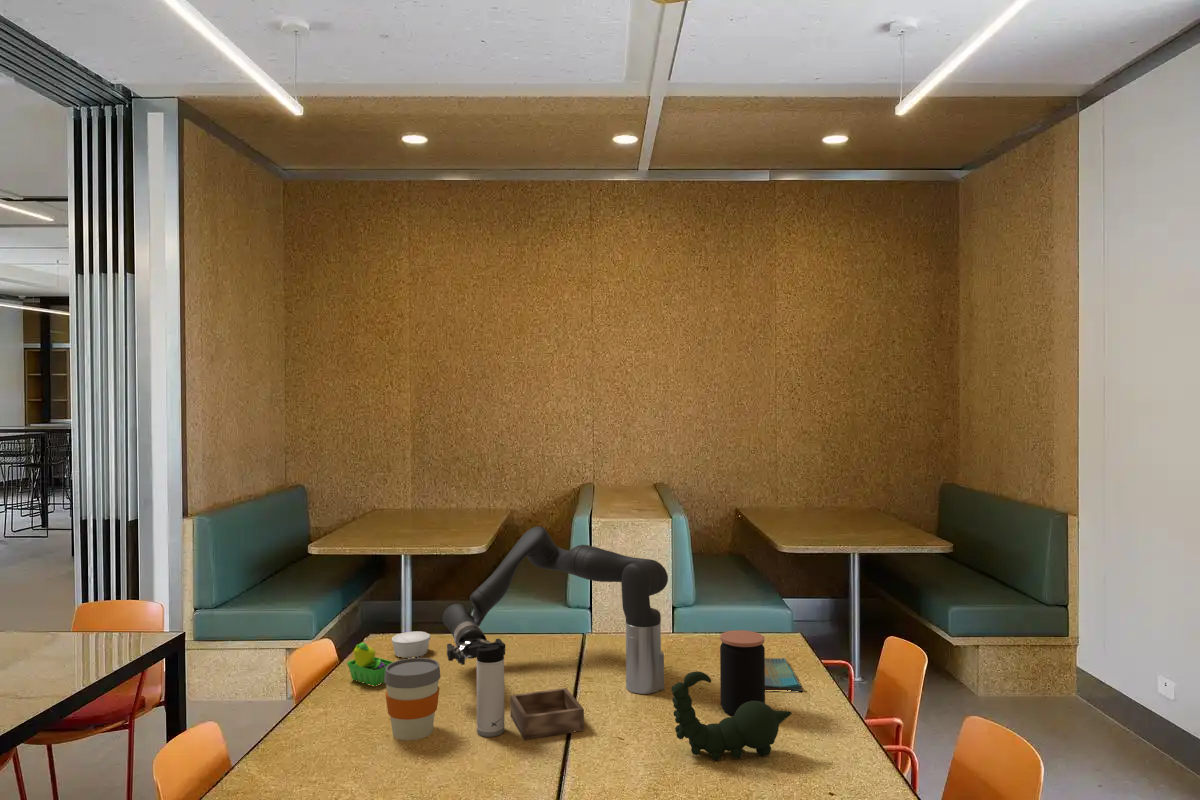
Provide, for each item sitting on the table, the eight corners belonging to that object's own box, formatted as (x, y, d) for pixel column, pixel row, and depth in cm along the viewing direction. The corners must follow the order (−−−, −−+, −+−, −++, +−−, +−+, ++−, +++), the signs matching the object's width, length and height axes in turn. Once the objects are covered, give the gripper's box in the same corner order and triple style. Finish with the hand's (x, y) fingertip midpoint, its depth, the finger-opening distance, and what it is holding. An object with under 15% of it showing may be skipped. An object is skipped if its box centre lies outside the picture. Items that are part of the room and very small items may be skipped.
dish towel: (736, 693, 200) (736, 684, 200) (726, 663, 223) (726, 654, 223) (803, 695, 199) (803, 685, 199) (786, 664, 222) (786, 655, 222)
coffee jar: (769, 706, 190) (769, 633, 190) (759, 722, 181) (758, 645, 181) (727, 699, 195) (726, 628, 195) (715, 715, 185) (714, 640, 185)
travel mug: (500, 738, 173) (500, 649, 173) (472, 736, 174) (472, 647, 174) (509, 727, 179) (509, 640, 179) (482, 724, 180) (482, 639, 180)
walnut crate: (566, 708, 190) (566, 687, 190) (584, 731, 176) (583, 709, 176) (510, 716, 185) (510, 695, 185) (524, 740, 172) (524, 717, 172)
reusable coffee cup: (391, 748, 168) (390, 679, 168) (379, 727, 179) (378, 662, 179) (447, 736, 174) (447, 670, 174) (432, 716, 185) (432, 654, 185)
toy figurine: (681, 773, 159) (801, 761, 159) (672, 682, 160) (792, 670, 160) (676, 752, 169) (789, 741, 169) (667, 666, 169) (781, 655, 169)
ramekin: (384, 657, 229) (384, 639, 229) (406, 646, 239) (406, 629, 239) (415, 662, 225) (415, 644, 225) (437, 650, 235) (437, 633, 235)
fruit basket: (396, 680, 210) (396, 639, 210) (370, 691, 202) (370, 648, 202) (367, 673, 216) (367, 632, 216) (341, 682, 208) (341, 641, 208)
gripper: (496, 650, 206) (509, 670, 190) (442, 656, 201) (451, 677, 186) (496, 622, 206) (509, 640, 190) (442, 627, 201) (451, 646, 186)
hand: (480, 658), depth 188 cm, fingers open, 8 cm apart
